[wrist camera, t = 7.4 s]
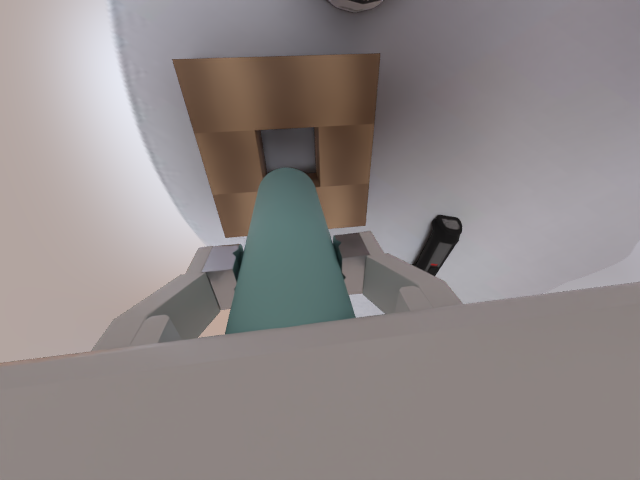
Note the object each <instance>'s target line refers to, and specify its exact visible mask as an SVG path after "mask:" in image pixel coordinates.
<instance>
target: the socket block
mask: <svg viewBox="0 0 640 480" xmlns="http://www.w3.org/2000/svg"><path fill="white" fill-rule="evenodd" d="M172 60H173V64H174V67H175V70H176V74H177V77H178V81H179V84H180V87H181V91H182V94H183V97H184V101H185V104H186V107H187V111H188V114H189V117H190V121H191V124H192V127H193V131H194V134H195V137H196V141H197V144H198V147H199V151H200V154H201V157H202V161H203V164H204V167H205V171H206V174H207V177H208V181H209V184H210V188H211V191H212V194H213V198H214V201H215V204H216V208H217V211H218V214H219V218H220V221H221V224H222V228H223V231H224V234H225V238H229V237H240V236H248V232H249V227H250V223H251V218H252V214H253V210H254V205H255V201H256V197H257V192H258V188H259V185H260V183H261V181H262V180H263V178H264V177H265V176H266V175H267V169H266V163H265V156H264V150H263V143H262V137H261V131H260V130H268V129H287V128H306V127H314V135H315V160H316V173H305V174H306V175H308V176H309V177H310V179H311V180H312V181H313V183H314V185H315V188H316V191H317V194H318V198H319V201H320V204H321V207H322V210H323V214H324V217H325V220H326V223H327V227H328V229H332V228H344V227H355V226H365V224H366V213H367V201H368V190H369V178H370V167H371V155H372V144H373V132H374V121H375V110H376V98H377V87H378V75H379V64H380V53H377V54H342V55H307V56H273V57H238V58H204V59H172Z"/></svg>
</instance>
